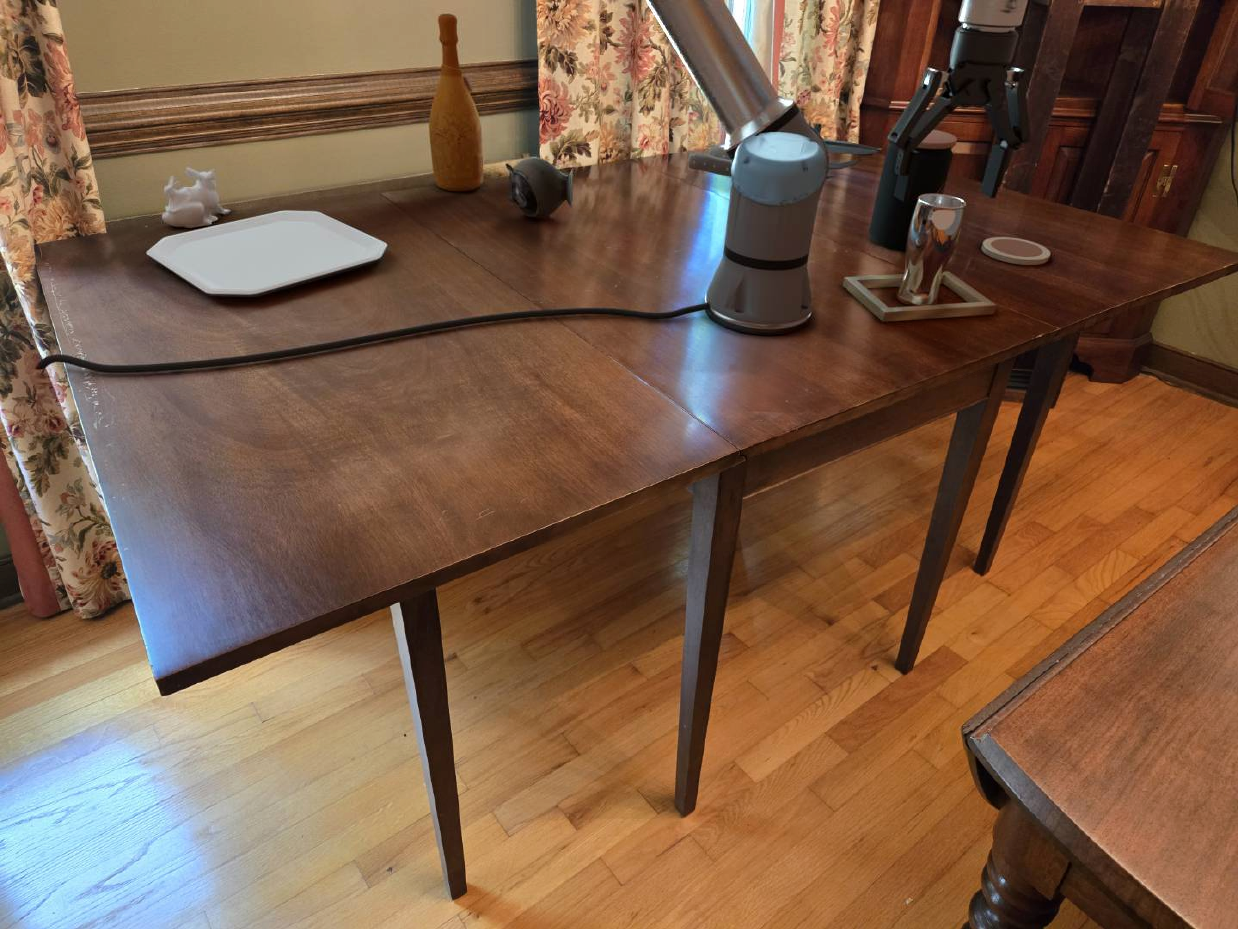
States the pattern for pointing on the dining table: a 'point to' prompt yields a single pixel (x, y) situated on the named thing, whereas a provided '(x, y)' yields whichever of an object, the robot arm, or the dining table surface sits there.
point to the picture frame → (972, 308)
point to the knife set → (722, 164)
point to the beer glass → (930, 247)
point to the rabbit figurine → (192, 201)
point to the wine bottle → (454, 120)
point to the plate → (266, 253)
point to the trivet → (1015, 251)
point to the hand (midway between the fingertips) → (944, 197)
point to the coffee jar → (928, 179)
